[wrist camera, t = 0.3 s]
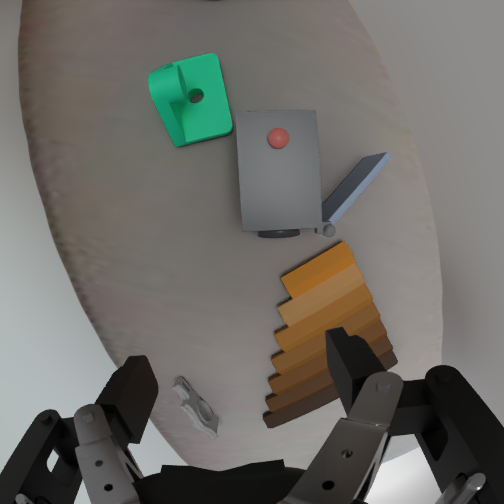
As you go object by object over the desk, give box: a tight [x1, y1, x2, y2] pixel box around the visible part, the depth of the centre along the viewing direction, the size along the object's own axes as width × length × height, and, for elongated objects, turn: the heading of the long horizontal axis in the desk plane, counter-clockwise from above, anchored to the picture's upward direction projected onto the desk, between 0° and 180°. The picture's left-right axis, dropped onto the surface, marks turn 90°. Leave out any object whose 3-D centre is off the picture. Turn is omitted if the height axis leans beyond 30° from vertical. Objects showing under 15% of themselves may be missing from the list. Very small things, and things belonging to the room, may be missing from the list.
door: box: [322, 152, 391, 225], centre depth 33 cm, size 12×2×7 cm, turn 138°
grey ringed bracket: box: [172, 376, 219, 440], centre depth 42 cm, size 12×2×6 cm, turn 29°
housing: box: [235, 110, 335, 238], centre depth 32 cm, size 13×10×11 cm
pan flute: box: [263, 241, 398, 428], centre depth 41 cm, size 25×3×25 cm
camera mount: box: [148, 53, 233, 147], centre depth 30 cm, size 12×8×10 cm, turn 12°
